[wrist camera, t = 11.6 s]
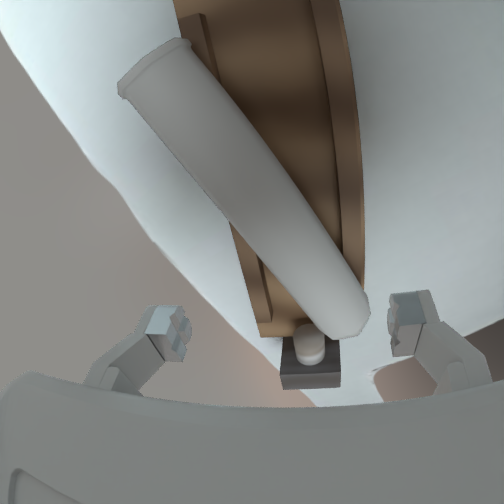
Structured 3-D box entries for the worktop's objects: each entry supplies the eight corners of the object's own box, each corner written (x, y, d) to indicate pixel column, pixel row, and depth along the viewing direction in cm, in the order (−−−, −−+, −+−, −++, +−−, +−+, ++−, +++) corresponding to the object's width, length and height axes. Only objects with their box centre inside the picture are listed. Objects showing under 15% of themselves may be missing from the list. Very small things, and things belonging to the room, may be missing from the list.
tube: (391, 326, 23) (183, 26, 13) (336, 363, 24) (103, 91, 14) (364, 291, 28) (189, 46, 18) (317, 324, 29) (127, 95, 19)
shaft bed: (168, -47, 15) (128, -70, 9) (314, -77, 12) (317, -114, 7) (266, 343, 37) (260, 389, 32) (359, 338, 35) (363, 385, 29)
